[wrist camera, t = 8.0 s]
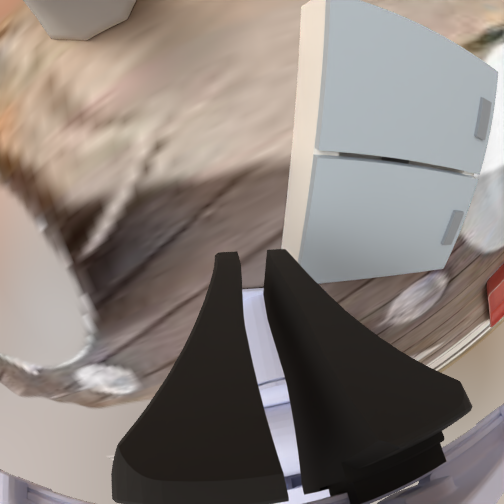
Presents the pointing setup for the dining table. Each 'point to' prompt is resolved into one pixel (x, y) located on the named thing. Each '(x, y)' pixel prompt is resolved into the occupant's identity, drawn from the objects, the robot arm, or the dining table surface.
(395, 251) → the cover
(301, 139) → the white slotted box
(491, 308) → the plant saucer
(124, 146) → the dining table surface
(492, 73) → the cover
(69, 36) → the flask
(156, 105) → the dining table surface
